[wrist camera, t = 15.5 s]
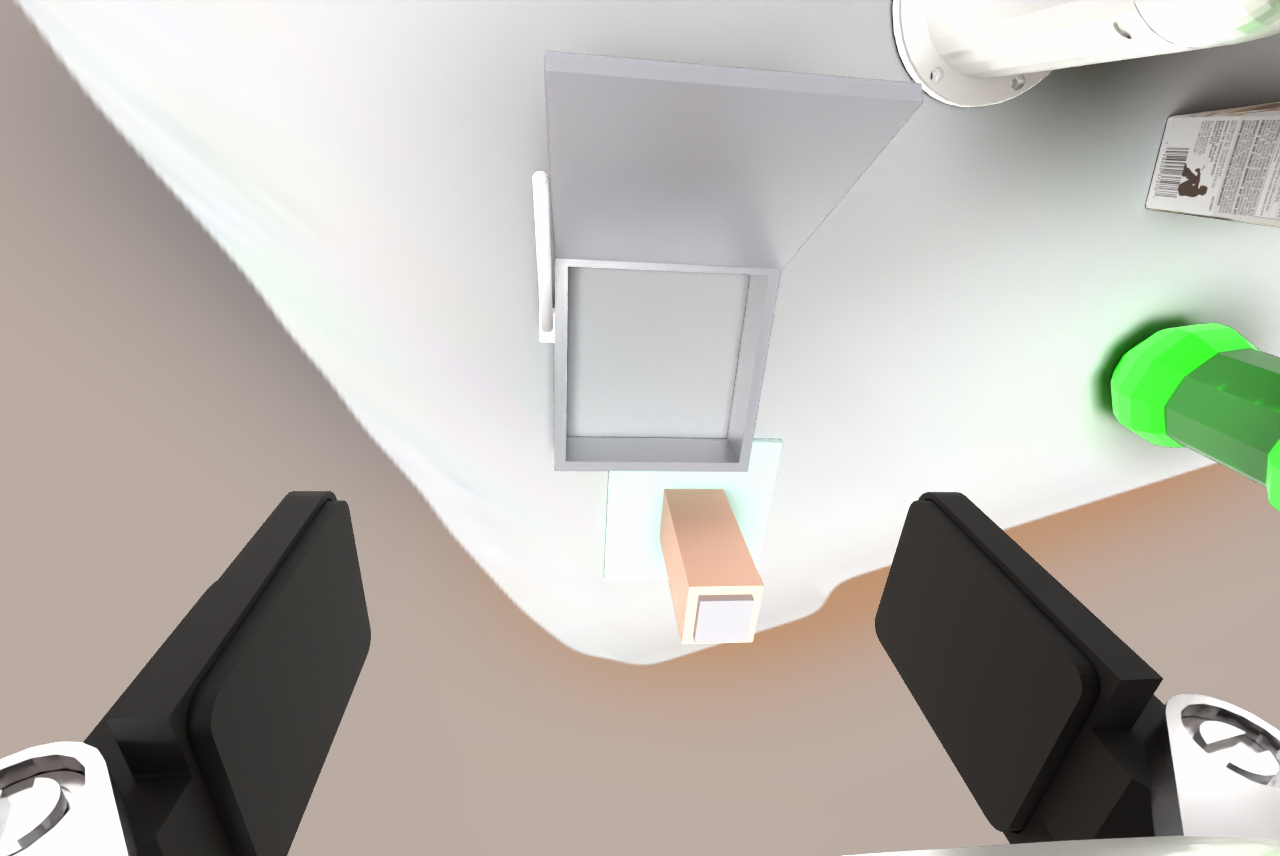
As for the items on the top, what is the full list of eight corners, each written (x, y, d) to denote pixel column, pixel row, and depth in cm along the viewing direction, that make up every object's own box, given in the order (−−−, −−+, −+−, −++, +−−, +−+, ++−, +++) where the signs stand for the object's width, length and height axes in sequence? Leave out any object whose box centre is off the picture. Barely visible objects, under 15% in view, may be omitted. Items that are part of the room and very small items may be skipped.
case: (787, 103, 38) (927, 82, 23) (735, 447, 49) (807, 587, 34) (540, 83, 36) (515, 46, 21) (543, 445, 47) (528, 592, 32)
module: (723, 489, 50) (766, 591, 39) (715, 537, 52) (754, 648, 41) (664, 488, 49) (690, 593, 38) (659, 538, 51) (683, 650, 40)
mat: (780, 439, 49) (782, 442, 48) (755, 573, 55) (756, 578, 55) (610, 437, 47) (611, 440, 47) (603, 576, 53) (604, 580, 53)
